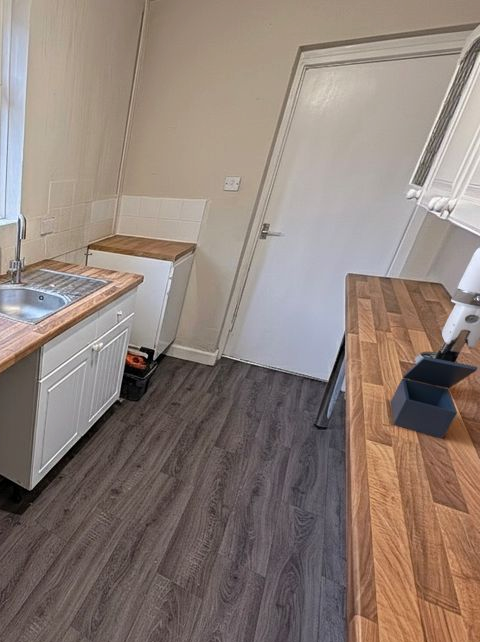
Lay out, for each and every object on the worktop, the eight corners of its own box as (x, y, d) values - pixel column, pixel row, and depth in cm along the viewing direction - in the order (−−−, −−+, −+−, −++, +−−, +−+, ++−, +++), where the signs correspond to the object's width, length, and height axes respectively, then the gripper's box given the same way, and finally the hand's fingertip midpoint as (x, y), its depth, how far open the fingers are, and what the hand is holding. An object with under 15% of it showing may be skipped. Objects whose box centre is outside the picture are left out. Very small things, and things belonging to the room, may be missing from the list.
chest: (442, 438, 103) (457, 412, 100) (393, 424, 108) (405, 399, 105) (435, 412, 114) (448, 388, 110) (390, 401, 119) (402, 378, 116)
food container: (405, 375, 134) (418, 347, 130) (432, 382, 130) (447, 353, 126) (402, 388, 126) (416, 358, 122) (430, 395, 122) (446, 365, 118)
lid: (477, 370, 97) (478, 367, 98) (423, 359, 103) (424, 356, 103) (449, 388, 110) (449, 385, 110) (402, 377, 116) (403, 375, 116)
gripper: (508, 309, 90) (467, 382, 98) (494, 294, 101) (458, 361, 108) (458, 302, 95) (422, 372, 102) (449, 289, 105) (418, 353, 113)
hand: (441, 367), depth 105 cm, fingers closed
